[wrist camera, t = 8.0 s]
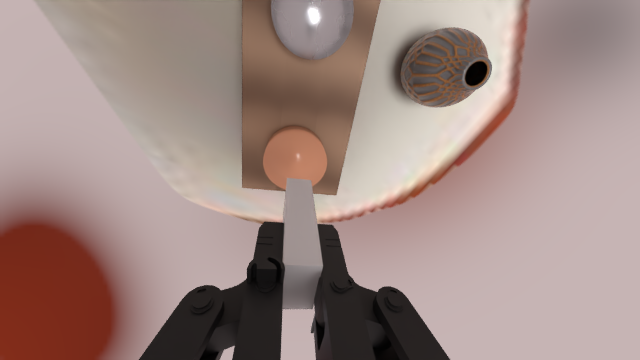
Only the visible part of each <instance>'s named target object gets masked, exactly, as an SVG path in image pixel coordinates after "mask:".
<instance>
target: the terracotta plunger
mask: <svg viewBox="0 0 640 360" xmlns="http://www.w3.org/2000/svg"><path fill="white" fill-rule="evenodd" d="M263 167H264V170H265V173H266V175H267V176H268V178H269V179H270V180H271V181H272V182H273V183H274V184H275V185H277V186H278V187H280V188H283V189H285V190H286V183H287V178H294V179H305V180H311V183H312V186H314V185H315V184H317V183H318V182H319V181H320V180H321V178H322V177H323V175H324V174H325V171H326V168H327V156H326V153H325V149H324V146H323V144H322V142H321V140H320V138H319V137H318V136H317V135H316V134H315V133H314V132H313V131H311V130H309V129H307V128H304V127H300V126H289V127H285V128H282V129H280V130H278V131H277V132H276V133H274V134H273V135H272V137H271V138H270V139H269V141H268V143H267V146H266V149H265V153H264V156H263Z"/></svg>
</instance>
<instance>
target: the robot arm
mask: <svg viewBox="0 0 640 360" xmlns="http://www.w3.org/2000/svg"><path fill="white" fill-rule="evenodd" d="M313 305H314V306H315V316H314V320H313V323H312V328H311V333H314V338H315V352H316V360H450V359H449V358H448V356H447V354H446V353H445V352H444V350H443V349H442V347H441V346H440V344H439V343H438V342H437V340H436V339H435V337H434V336H433V334H432V333H431V331H430V330H429V329H428V327H427V326H426V324H425V323H424V321H423V320H422V319H421V317H420V316H419V314H418V313H417V311H416V310H415V309H414V307H413V306H412V304H411V303H410V301H409V300H408V298H407V297H406V296H405V295H404V294H403V293H402V292H400V291H399V290H398V289H396V288H393V287H382V288H381V289H379V291H378V292H375V291H373V290H369V289H366V288H363V287H361V286H359V285H358V284H356V283H355V282H354V280H353V279H352V278H351V277H350V276H349V274H348V272H347V267H346V263H345V259H344V255H343V251H342V248H341V243H340V239H339V235H338V232H337V230H336V229H335V228H334V226H333V225H325V224H317V219H316V212H315V205H314V197H313V190H312V183H311V180H305V179H294V178H287V183H286V193H285V202H284V212H283V223H279V222H264V223H263V224H262V225H261V227H260V228H259V231H258V237H257V242H256V247H255V253H254V259H253V260H252V261H251V262H250V263H249V266H248V268H247V279H246V280H245V281H244V282H242V283H241V284H239V285H237V286H234V287H232V288H229V289H225V290H220V289H219V288H217V287H215V286H212V285H211V286H210V285H204V286H200V287H197V288H195V289H193V290H192V291H190V292H189V293H188V294H187V295H186V296H185V297H184V298H183V299H182V301H181V302H180V303H179V305H178V306H177V307H176V309H175V310H174V311H173V313H172V314H171V316H170V317H169V319H168V320H167V321H166V323H165V324H164V325H163V327H162V328H161V330H160V331H159V332H158V334H157V335H156V337H155V338H154V339H153V341H152V342H151V344H150V345H149V346H148V348H147V349H146V350H145V352H144V353H143V355H142V356H141V357H140V359H139V360H219V359H220V357H221V355H222V353H223V350H224V349H227V348H229V347H232V346H235V348H234V354H233V359H232V360H280V358H281V331H282V309H313Z"/></svg>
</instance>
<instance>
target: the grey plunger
mask: <svg viewBox="0 0 640 360" xmlns="http://www.w3.org/2000/svg"><path fill="white" fill-rule="evenodd" d="M271 14H272V20H273V25H274V27H275V30H276V33H277V35H278V37H279V38H280V40H281V42H282V43H283V44H284V45H285V46H286V48H287V49H288V50H290V51H291V52H292V53H293V54H295V55H297V56H299V57H301V58H305V59H310V60H318V59H323V58H326V57H328V56H330V55H332V54H333V53H335V52H336V51H337V50H338V49H339V48H340V47H341V46H342V45H343V43H344V42H345V40H346V39H347V37H348V35H349V32H350V30H351V27H352V22H353V16H354V6H353V0H272V1H271Z"/></svg>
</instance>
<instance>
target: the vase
mask: <svg viewBox="0 0 640 360" xmlns="http://www.w3.org/2000/svg"><path fill="white" fill-rule="evenodd" d="M491 71H492V65H491V62H490V60H489V59H488V54H487V50H486V47H485V45H484V43H483V42H482V40H481V39H480V38H479V37H478V36H477V35H475V34H474V33H472V32H470V31H468V30H465V29H461V28H443V29H439V30H436V31H433V32H430V33H428V34H426V35H425V36H423V37H422V38H420V39H419V40H418V41H417V42H416V43H415V44H414V45H413V46H412V47H411V48H410V49H409V51H408V52H407V54H406V56H405V58H404V60H403V63H402V67H401V82H402V86H403V88H404V90H405V92H406V93H407V94H408V96H409V97H410V98H411V99H412V100H414V101H416V102H417V103H419V104H421V105H424V106H428V107H446V106H450V105H453V104H456V103H458V102H461V101H462V100H464V99H466V98H467V97H468V96H470V95H471V94H472V93H473V92H474V91H475V90H476V89H478V88H480V87H481V86H483V85H484V84H485V83H486V82H487V80H488V79H489V77H490V75H491Z"/></svg>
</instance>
